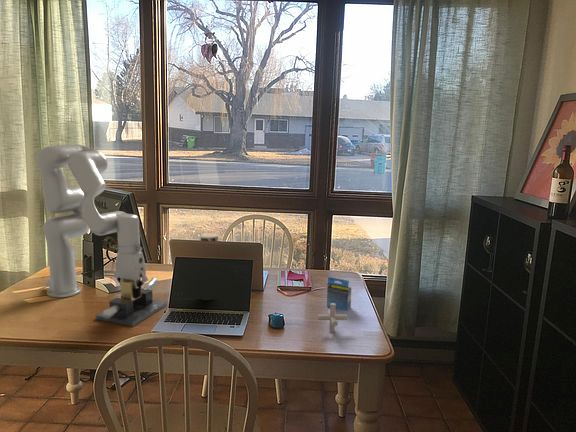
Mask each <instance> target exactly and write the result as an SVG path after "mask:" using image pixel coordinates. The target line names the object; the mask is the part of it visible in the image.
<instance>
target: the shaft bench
mask: <svg viewBox="0 0 576 432" xmlns="http://www.w3.org/2000/svg"><path fill="white" fill-rule="evenodd" d="M158 284H159V280H158V279H157V278H156V277H151V279H150V280H148V281H147V283H146V284H145V286H143V288H142V287H141V291H142V296H141V297H139V298H137V299H135V300H134V301H132V300H127V299H121V297H120V298H119V297H115V298H114V299H112V300H110V301H108V302H109V308H106V309H105V310H102V311H100V312H99V313H97V314H95V319H96V320H99V321H104V322H108V323H109V322H110V323H114V324H119V325H124V326H129V327H134V326H136V325H137V324H139V323H141V322H142V321H144V320H146V319H147V318H149V317H151V316H153V315H154V314H155V313H157V312H158V311H161V310H162V309H164V308H165V307H167V302H166V301H160V300H155V299H154V298H153V290H154V288H155V287H156V286H157V285H158ZM134 309H136V311H134ZM137 309H138V310H137Z"/></svg>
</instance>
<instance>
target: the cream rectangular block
mask: <svg viewBox="0 0 576 432" xmlns="http://www.w3.org/2000/svg"><path fill="white" fill-rule="evenodd" d="M137 283H138V281H137ZM119 287H120V288H119V289H120V298H121V299H127V300H132V301H134V300H135V299H134V288H135V286H134V282H133V280H128V279H125V280H123V281H120V283H119ZM141 296H142V291H141ZM141 296H140V297H141ZM138 298H139V297H138ZM136 299H137V298H136Z"/></svg>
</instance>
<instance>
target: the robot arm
mask: <svg viewBox="0 0 576 432" xmlns="http://www.w3.org/2000/svg"><path fill="white" fill-rule="evenodd" d="M36 164H37V168H38V169H37V170H38V171H39V173H40V178H41V181H42V183H41V184H42V190H43V199H44V200H43V202H44V205H45V206H44V207H45V209H46V211H47V212H48V213H50V214H62V213H68V212H70V213H69V214H64V215H59V216H55V217H54V216H53V217H51V218H48V219H47V220H46V221H45V222H44V223H43V226H42V227H43V228H42V230H43V234H44V238H45V242H46V246H47V257H48V267H49V279H47V281H46V282H45V283H44V285H45V286H47V287H49V289H48V290H47V291H46V294H47V296H48V297H52V298H68V297H71V296H75V295H77V294H80V293H81V291H82V287H81V286H80V285H78V283H77V273H76V271H77V270H76V258H75V257H76V256H75V255H76V254H75V249H74V246H73V245H72V244H71V242H70V241H69V240H70V239H72V238H78V237H81V236H84V235H86V234H88V233H87V232H89V230H90V231H91V232H92V233H93V234H94V235H96V236H106V235H109V234H114V233H117V234H116V235H117V248H118V249H117V250H118V251H117V253H116V258H115V260H116V261H115V271H114V274H113V277H114V278H115V279H116V281H118V283H119V284H120V281H123V280H125V279H128V280H133V282H134V286H135V288H134V299H136V298H138V297H140V296H141V288H142V286H143V285H144V284H145V283H146V282H149V278H148V277H147V271H146V262H145V258H144V254H143V247H142V246H141V238H140V219H139V216H138V215H137V214H133V213H126V212H125V211H121V210H116V211H111V212H105V213H104V212H103V213H101V214H100V212H99V211H98V210H97V207H96V204H95V198H96V197H97V196H99V195H100V194H102V193H103V192H104V191H105V190H106V188H107V184H106V182H105V180H104V178H103V177H102V175H101V173H103V172H105V171H106V170H107V169H108V159H107V158H106V156H105V154H104V153H103V152H102V151H100V150H97V149H95V148H91V147H88V146H86V145H81V144H59V145H49V146H48V145H47V146H45V147H43V148H41V149H40V150H39V151H38V153H37V156H36ZM60 168H69V170H70V172H71V173H72V175H73V177H74V179H75V181H76V182H77V185H78V186H79V187H76V186H70V187H68V183H67V177H66V176H65V173H64V172H63V171H62V169H60ZM137 281H138V283H137Z"/></svg>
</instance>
